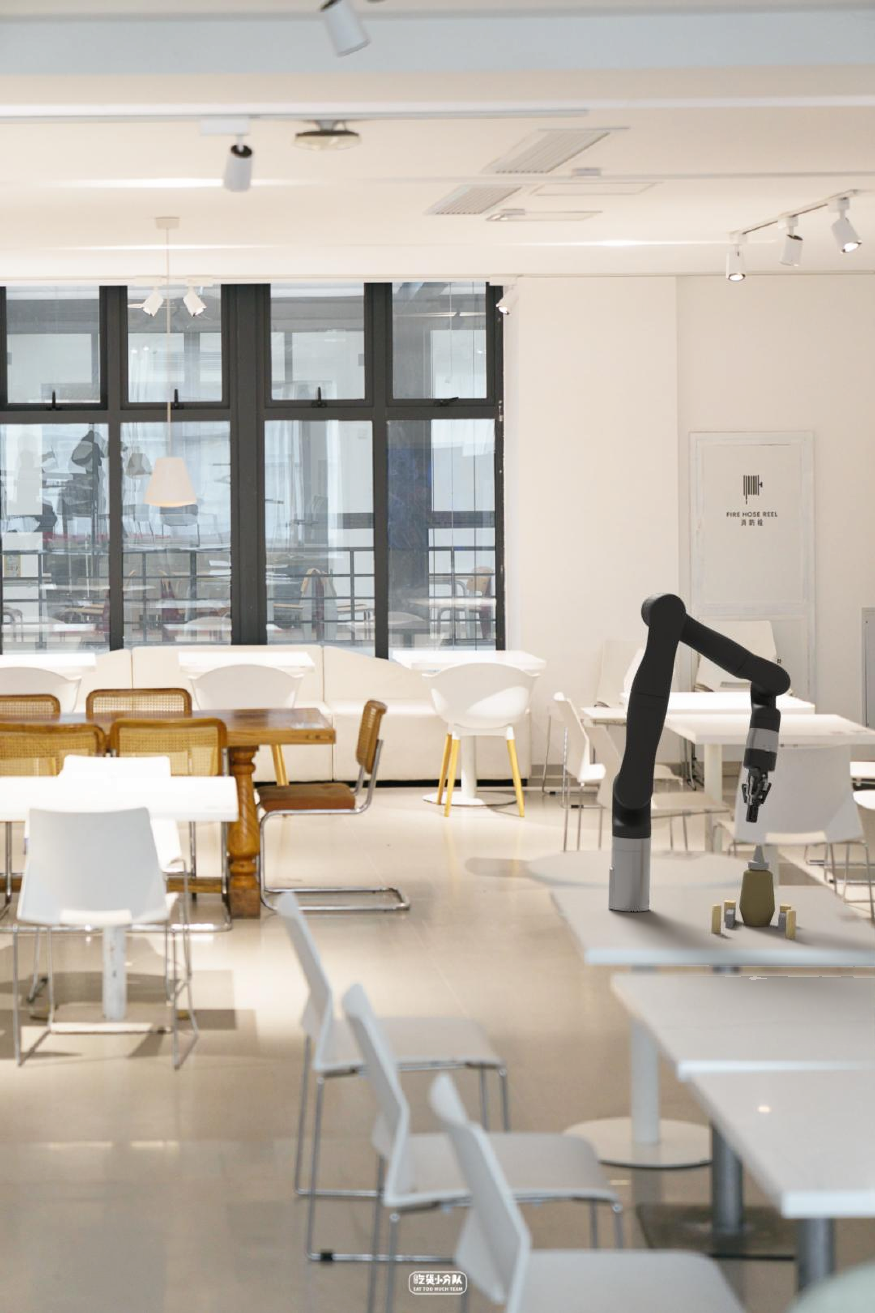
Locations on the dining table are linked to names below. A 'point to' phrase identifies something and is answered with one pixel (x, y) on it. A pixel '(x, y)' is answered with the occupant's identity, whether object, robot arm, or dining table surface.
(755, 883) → the squeeze bottle
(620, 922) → the dining table surface
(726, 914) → the wooden post frame
